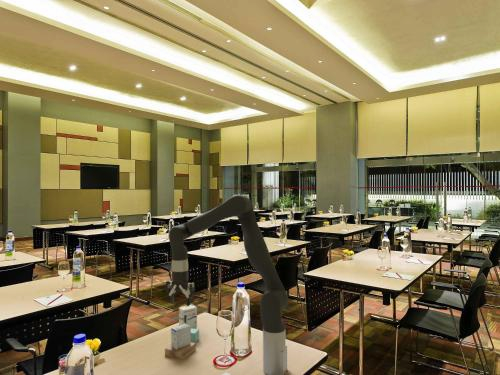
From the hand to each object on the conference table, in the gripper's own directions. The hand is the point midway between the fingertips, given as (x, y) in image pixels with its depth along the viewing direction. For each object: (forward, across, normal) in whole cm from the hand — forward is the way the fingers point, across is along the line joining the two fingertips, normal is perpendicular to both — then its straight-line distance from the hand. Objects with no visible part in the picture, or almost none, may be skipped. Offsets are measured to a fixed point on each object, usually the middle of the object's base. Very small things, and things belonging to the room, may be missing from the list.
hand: (180, 304), depth 165 cm
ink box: (+22, +11, -24) cm, 35 cm away
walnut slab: (+22, 0, 0) cm, 23 cm away
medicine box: (+19, 0, 0) cm, 19 cm away
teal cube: (+22, +2, -12) cm, 25 cm away
